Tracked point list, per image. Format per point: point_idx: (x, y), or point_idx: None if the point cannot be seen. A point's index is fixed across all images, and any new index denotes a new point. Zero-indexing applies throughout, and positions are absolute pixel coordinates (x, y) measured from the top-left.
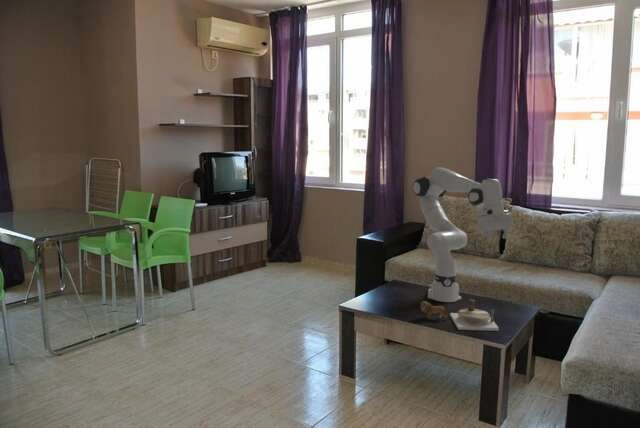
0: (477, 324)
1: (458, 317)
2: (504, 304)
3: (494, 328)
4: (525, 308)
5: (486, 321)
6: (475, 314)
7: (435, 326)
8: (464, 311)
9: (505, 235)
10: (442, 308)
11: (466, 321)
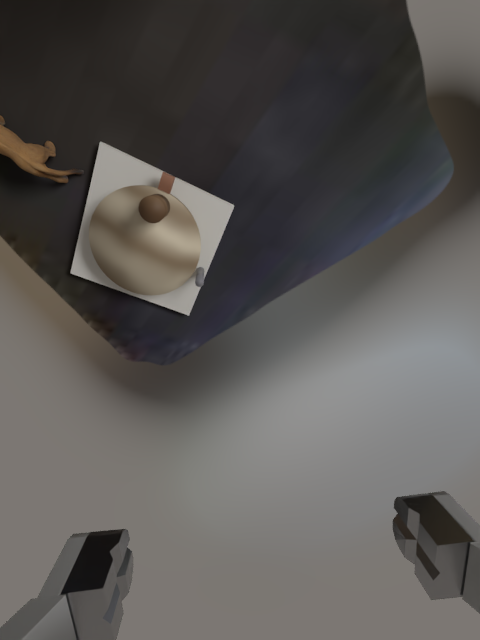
0: None
1: None
2: (391, 107)
3: (177, 310)
4: (415, 181)
5: None
6: (147, 253)
7: (5, 221)
8: (123, 212)
9: (442, 586)
10: (28, 171)
11: None
